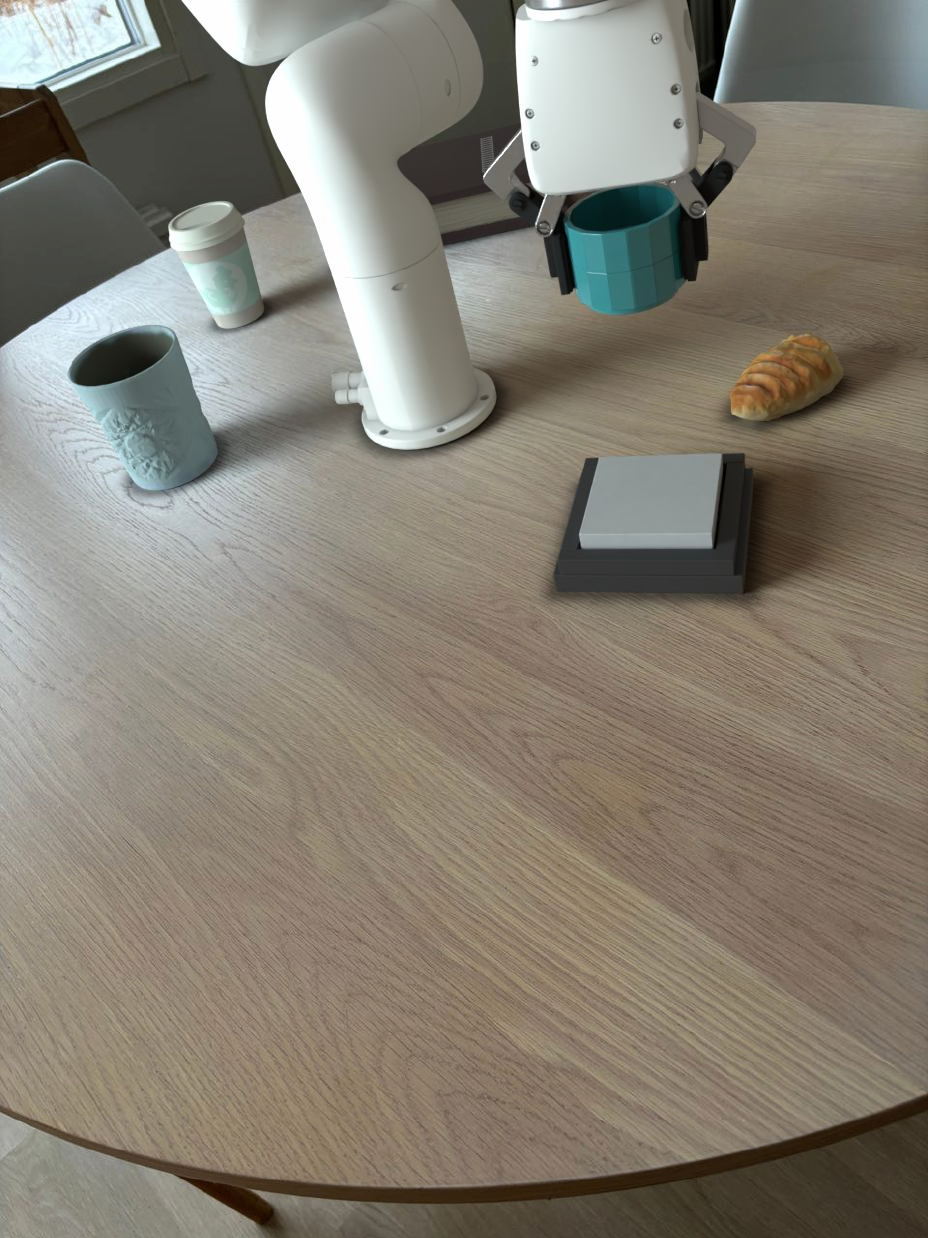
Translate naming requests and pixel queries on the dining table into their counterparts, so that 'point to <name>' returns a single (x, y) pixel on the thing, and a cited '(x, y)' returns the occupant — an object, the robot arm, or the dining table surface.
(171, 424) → the embossed blue pot
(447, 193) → the book
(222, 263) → the coffee cup
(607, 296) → the teal faceted cup
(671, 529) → the pan
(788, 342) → the pastry
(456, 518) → the dining table surface
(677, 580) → the scale
